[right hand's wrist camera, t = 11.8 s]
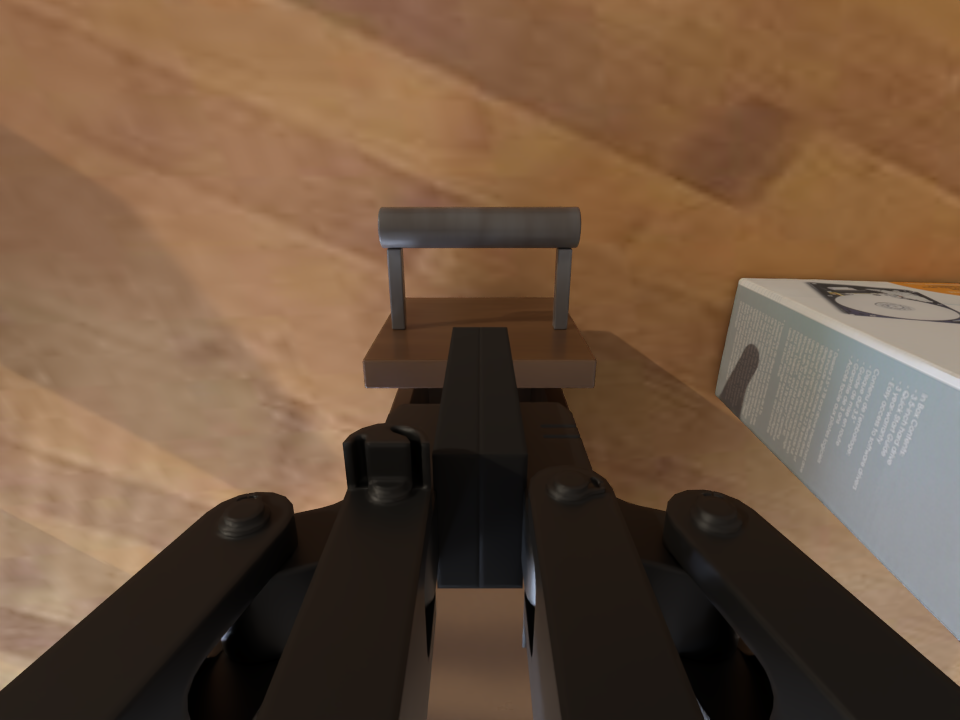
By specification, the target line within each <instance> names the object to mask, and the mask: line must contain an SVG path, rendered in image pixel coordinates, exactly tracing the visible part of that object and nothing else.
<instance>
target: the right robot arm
mask: <svg viewBox="0 0 960 720" xmlns="http://www.w3.org/2000/svg"><path fill="white" fill-rule="evenodd" d="M343 451H344V460H345V469H346V478H347V486H348V489H347V492H346V495H345V497H344V500H342V501H340V502H338V503H335V504H333V505H330V506H326V507H323V508H319V509H314V510H309V511H305V512H300V513H295V514H294V510H293V504H292V503H291V502H290V501H289V500H288V499H287V498H286V497H285V496H282V495H279V494H276V493H273V492H255V493H249V494H243V495H239V496H237V497H234V498H232V499H229V500H227V501H224V502H222V503H220V504H219V505H217V506H216V507H214V508H213V509H211V510H210V511H208V512H207V513H205V514H204V515H203V516H202V517H201V518H200V519H199V520H197V521H196V522H195V523H194V524H193V525H192V526H190V527H189V528H188V529H187V530H186V531H185V532H184V533H182V534H181V535H180V536H179V537H178V538H177V539H175V540H174V541H173V542H172V543H171V544H170V545H169V546H167V547H166V548H165V549H164V550H163V551H162V552H160V553H159V554H158V555H157V556H156V557H155V558H154V559H152V560H151V561H150V562H149V563H148V564H147V565H145V566H144V567H143V568H142V569H141V570H140V571H139V572H137V573H136V574H135V575H134V576H133V577H132V578H130V579H129V580H128V581H127V582H126V583H125V584H124V585H122V586H121V587H120V588H119V589H118V590H117V591H115V592H114V593H113V594H112V595H111V596H110V597H109V598H107V599H106V600H105V601H104V602H103V603H102V604H100V605H99V606H98V607H97V608H96V609H95V610H94V611H92V612H91V613H90V614H89V615H88V616H87V617H85V618H84V619H83V620H82V621H81V622H80V623H79V624H77V625H76V626H75V627H74V628H73V629H72V630H70V631H69V632H68V633H67V634H66V635H65V636H63V637H62V638H61V639H60V640H59V641H58V642H57V643H55V644H54V645H53V646H52V647H51V648H50V649H48V650H47V651H46V652H45V653H44V654H43V655H42V656H40V657H39V658H38V659H37V660H36V661H35V662H33V663H32V664H31V665H30V666H29V667H28V668H27V669H25V670H24V671H23V672H22V673H21V674H20V675H18V676H17V677H16V678H15V679H14V680H13V681H12V682H10V683H9V684H8V685H7V686H6V687H5V688H3V689H2V690H1V691H0V720H427V712H428V701H429V690H430V680H431V669H432V658H433V647H434V636H435V626H436V615H437V613H436V582H437V589H523V580H524V613H523V637H522V648H527V657H528V668H529V679H530V690H531V700H532V711H533V720H960V687H959V686H958V685H957V684H956V683H955V682H954V681H952V680H951V679H950V678H949V677H948V676H947V675H945V674H944V673H943V672H942V671H941V670H940V669H938V668H937V667H936V666H935V665H934V664H933V663H931V662H930V661H929V660H928V659H927V658H926V657H924V656H923V655H922V654H921V653H920V652H919V651H917V650H916V649H915V648H914V647H913V646H912V645H910V644H909V643H908V642H907V641H906V640H905V639H903V638H902V637H901V636H900V635H899V634H898V633H896V632H895V631H894V630H893V629H892V628H891V627H890V626H888V625H887V624H886V623H885V622H884V621H883V620H881V619H880V618H879V617H878V616H877V615H876V614H874V613H873V612H872V611H871V610H870V609H869V608H867V607H866V606H865V605H864V604H863V603H862V602H860V601H859V600H858V599H857V598H856V597H855V596H853V595H852V594H851V593H850V592H849V591H848V590H846V589H845V588H844V587H843V586H842V585H841V584H839V583H838V582H837V581H836V580H835V579H834V578H832V577H831V576H830V575H829V574H828V573H827V572H825V571H824V570H823V569H822V568H821V567H820V566H818V565H817V564H816V563H815V562H814V561H813V560H812V559H810V558H809V557H808V556H807V555H806V554H805V553H803V552H802V551H801V550H800V549H799V548H798V547H796V546H795V545H794V544H793V543H792V542H791V541H789V540H788V539H787V538H786V537H785V536H784V535H782V534H781V533H780V532H779V531H778V530H777V529H775V528H774V527H773V526H772V525H771V524H770V523H768V522H767V521H766V520H765V519H764V518H763V517H761V516H760V515H759V514H758V513H757V512H756V511H754V510H753V509H752V508H750V507H749V506H747V505H746V504H744V503H743V502H741V501H740V500H737V499H735V498H732V497H730V496H727V495H725V494H722V493H719V492H715V491H714V492H713V491H708V490H686V491H683V492H680V493H677V494H675V495H674V496H673V497H672V498H671V499H670V500H669V501H668V504H667V510H666V511H662V510H657V509H652V508H647V507H642V506H638V505H635V504H631V503H627V502H625V501H623V500H621V499H618V498H616V496H615V494H614V491H613V489H612V487H611V486H610V484H609V483H608V482H607V480H606V479H605V478H603V477H602V476H600V475H599V474H597V473H596V472H594V471H593V470H592V467H591V465H590V462H589V459H588V456H587V454H586V451H585V448H584V445H583V443H582V440H581V438H580V434H579V432H578V429H577V428H576V423H575V421H574V418H573V415H572V413H571V412H570V411H569V410H568V409H566V408H565V407H564V406H563V405H561V404H560V403H559V402H519V397H518V391H517V385H516V378H515V372H514V366H513V360H512V354H511V348H510V342H509V336H508V329H507V327H453V329H452V336H451V342H450V348H449V354H448V360H447V366H446V372H445V378H444V385H443V391H442V397H441V403H440V404H401V405H400V406H398V407H397V408H396V409H395V410H393V411H392V412H391V413H390V414H388V417H387V420H386V423H382V424H375V425H372V426H368V427H365V428H361V429H360V430H358V431H356V432H354V433H352V434H351V435H349V436H348V438H347V439H346V440H345V441H344V442H343Z"/></svg>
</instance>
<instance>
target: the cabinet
mask: <svg viewBox="0 0 960 720" xmlns="http://www.w3.org/2000/svg"><path fill="white" fill-rule="evenodd" d="M436 613H437V615H436V626H435V636H434V647H433V658H432V669H431V680H430V690H429V701H428V712H427V720H533V711H532V700H531V690H530V679H529V668H528V657H527V648H522V637H523V613H524V580H523V589H437V582H436Z"/></svg>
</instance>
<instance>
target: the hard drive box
mask: <svg viewBox="0 0 960 720" xmlns="http://www.w3.org/2000/svg"><path fill="white" fill-rule="evenodd" d="M715 395H716V396H717V397H718V398H719V399H720V400H721V401H722V402H723V403H724V404H725V405H726V406H727V407H728V408H729V409H730V410H731V411H732V412H733V413H734V414H735V415H736V416H737V417H738V418H739V419H740V420H741V421H742V422H743V423H744V424H745V425H746V426H747V427H748V428H749V429H750V430H751V431H752V432H753V433H754V434H755V435H756V437H757V438H758V439H759V440H760V441H761V442H762V443H763V444H765V445H766V446H767V448H768V449H769V450H770V451H771V452H772V453H773V454H774V455H775V456H776V457H777V458H778V459H779V460H780V461H781V462H782V463H783V464H784V465H785V466H786V467H787V468H788V469H789V470H790V471H791V472H792V473H793V474H794V475H795V476H796V477H797V478H798V479H799V480H800V481H801V482H802V483H803V484H804V485H805V486H806V487H807V488H808V489H809V490H810V491H811V492H812V493H813V494H814V495H815V496H816V497H817V498H818V499H819V500H820V501H821V502H822V503H823V504H824V505H825V506H826V507H827V508H828V509H829V510H830V511H831V512H832V513H833V514H834V515H835V516H836V517H837V518H838V519H839V520H840V521H841V522H842V523H843V524H844V525H845V526H846V527H847V528H848V529H849V530H850V531H851V532H852V533H853V534H854V535H855V536H856V537H857V538H858V539H859V541H860V542H861V543H862V544H863V545H864V546H865V547H866V548H867V549H868V550H869V551H870V552H871V553H872V554H873V555H874V556H875V557H876V558H877V559H878V560H879V561H880V562H881V563H882V564H883V565H884V566H885V567H886V568H887V569H888V570H889V571H890V572H891V573H892V574H893V575H894V576H895V577H896V578H897V579H898V580H899V581H900V582H901V583H902V584H903V585H904V586H905V587H906V588H907V589H908V590H909V591H910V592H911V593H912V594H913V595H914V596H915V597H916V598H917V599H918V600H919V601H920V602H921V603H922V604H923V605H924V606H925V607H926V608H927V609H928V610H929V611H930V612H931V613H932V614H933V615H934V616H935V617H936V618H937V619H938V620H939V621H940V622H941V623H942V624H943V625H944V626H945V627H946V628H947V629H948V630H949V631H950V632H951V633H952V634H953V635H954V636H955V637H956V638H957V639H958V640H959V641H960V284H959V283H914V282H877V281H845V280H820V279H764V278H741V279H740V280H739V283H738V287H737V291H736V296H735V301H734V305H733V310H732V314H731V319H730V323H729V328H728V332H727V337H726V342H725V347H724V351H723V356H722V360H721V365H720V370H719V375H718V381H717V386H716V391H715Z"/></svg>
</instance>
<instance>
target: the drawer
mask: <svg viewBox="0 0 960 720" xmlns="http://www.w3.org/2000/svg"><path fill="white" fill-rule="evenodd" d="M378 233H379V240H380V244H381V246H382V247H383V248H388V249H387V259H388V274H389V289H390V304H391V314H390V315H389V317H388V319H387V320H386V322H385V324H384V326H383V327H382V329H381V331H380V332H379V334H378V336H377V337H376V339H375V341H374V342H373V344H372V346H371V348H370V349H369V351H368V353H367V354H366V356H365V358H364V359H363V370H364V382H365V387H366V388H398V391H397V394H396V396H395V399H394V402H393V405H392V408H391V410H390V413H391V412H392V411H393V410H395V409H396V408H397V407H398V406H400V405H401V404H440V403H441V397H442V391H443V385H444V378H445V372H446V366H447V360H448V354H449V348H450V342H451V336H452V329H453V327H507V329H508V336H509V342H510V348H511V354H512V360H513V366H514V372H515V378H516V385H517V391H518V397H519V402H559V403H560V404H561V405H563V406H564V407H565V408H566V409H568V410H569V408H568V405H567V403H566V400H565V397H564V394H563V391H562V389H561V388H594V384H595V372H596V359H595V357H594V356H593V354H592V352H591V350H590V349H589V347H588V345H587V344H586V342H585V340H584V339H583V337H582V335H581V333H580V332H579V330H578V328H577V327H576V325H575V323H574V321H573V320H572V318H571V316H570V315H569V313H568V308H569V293H570V277H571V261H572V249H571V248H576V247H577V246H578V244H579V240H580V234H581V214H580V209H579V208H578V207H381V208H380V210H379V214H378ZM403 248H556V266H555V285H554V298H405V281H404V263H403ZM390 413H389V414H390Z"/></svg>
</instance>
